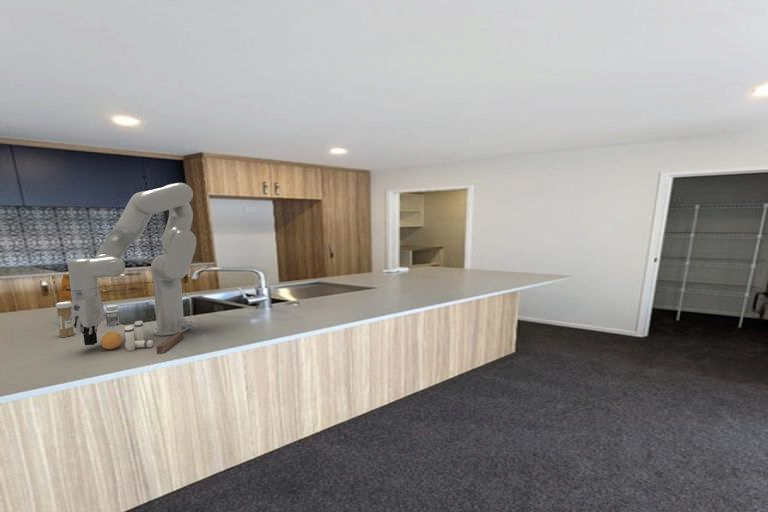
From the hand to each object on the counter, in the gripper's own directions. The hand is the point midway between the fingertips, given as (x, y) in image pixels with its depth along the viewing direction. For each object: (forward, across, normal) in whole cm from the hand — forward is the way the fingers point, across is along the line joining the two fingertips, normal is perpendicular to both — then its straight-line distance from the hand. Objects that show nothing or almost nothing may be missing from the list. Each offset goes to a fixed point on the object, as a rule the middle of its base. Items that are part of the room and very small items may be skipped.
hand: (91, 344), depth 127 cm
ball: (-1, -1, -7) cm, 8 cm away
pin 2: (+2, +3, -15) cm, 15 cm away
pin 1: (+2, -3, -15) cm, 15 cm away
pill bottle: (+2, +32, +11) cm, 34 cm away
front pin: (+1, -1, -12) cm, 12 cm away
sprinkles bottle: (+2, +18, +20) cm, 27 cm away
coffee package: (+2, +39, +30) cm, 50 cm away
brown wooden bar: (+2, 0, -27) cm, 27 cm away
